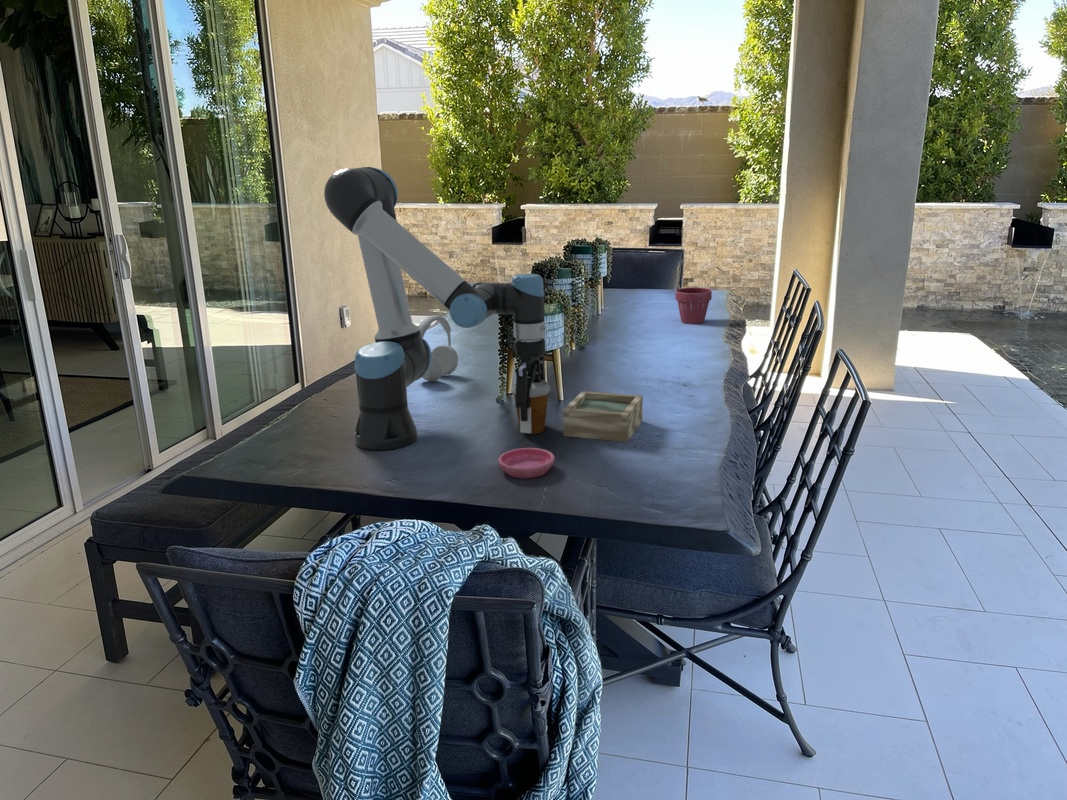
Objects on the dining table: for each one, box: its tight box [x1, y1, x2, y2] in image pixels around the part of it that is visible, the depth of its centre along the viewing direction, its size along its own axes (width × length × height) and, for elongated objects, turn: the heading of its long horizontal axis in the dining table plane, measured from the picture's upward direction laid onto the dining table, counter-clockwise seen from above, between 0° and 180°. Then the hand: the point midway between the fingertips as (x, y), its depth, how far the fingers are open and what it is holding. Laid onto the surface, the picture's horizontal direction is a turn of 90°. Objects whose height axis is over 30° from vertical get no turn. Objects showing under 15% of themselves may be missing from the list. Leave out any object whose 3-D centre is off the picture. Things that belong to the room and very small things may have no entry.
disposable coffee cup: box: [511, 380, 551, 435], centre depth 199 cm, size 10×10×12 cm
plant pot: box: [674, 287, 713, 325], centre depth 318 cm, size 14×14×13 cm
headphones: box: [418, 314, 459, 383], centre depth 246 cm, size 19×9×20 cm, turn 154°
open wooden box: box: [562, 390, 643, 443], centre depth 200 cm, size 16×16×7 cm
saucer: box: [497, 447, 556, 479], centre depth 176 cm, size 12×12×3 cm
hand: (532, 426), depth 201 cm, fingers closed on disposable coffee cup, 8 cm apart
